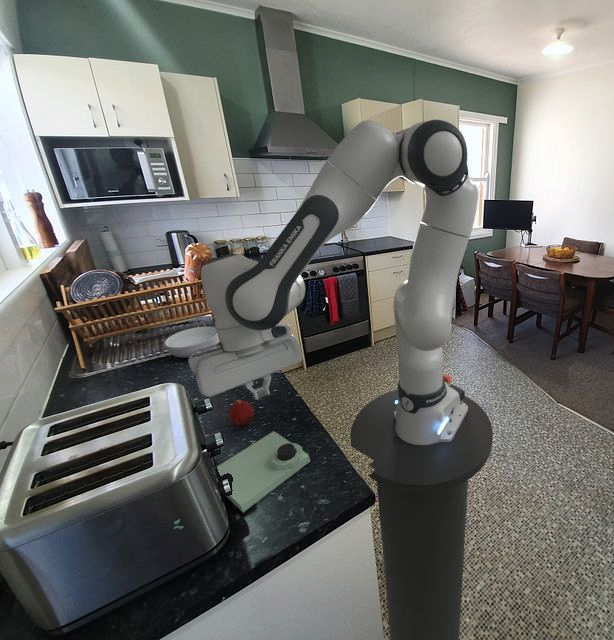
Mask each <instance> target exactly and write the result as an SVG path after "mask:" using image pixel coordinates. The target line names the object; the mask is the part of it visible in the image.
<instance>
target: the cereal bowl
mask: <svg viewBox="0 0 614 640" xmlns="http://www.w3.org/2000/svg"><path fill="white" fill-rule="evenodd" d="M219 343H220V341H219V338H218V335H217V332H216V328H215V326H198V327H197V326H196V327H192V328H187V329H184V330H181V331H178V332H175V333H174V334H172V335H170V336H168V337H167V338H166V340H165V341H164V345H165V348H166V350H167V351H168V353H169V354H170V355H172V356H174V357H177V358H181V359H186V358H188V359H189V357H190V356H191V355H192V354H193V353H195V351H196V350H199V349H204V348H207V347H210V346H212V345H216V344H219ZM195 356H196V355H194V356H193V357H195Z"/></svg>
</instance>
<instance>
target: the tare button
mask: <svg viewBox="0 0 614 640" xmlns="http://www.w3.org/2000/svg"><path fill="white" fill-rule="evenodd" d="M290 443H291V442H290ZM290 443H287V444H284V445H282V446H280V447H279V448H278V450H277V453H278V458H279V460H281V461H286V460H290V459H291V458H293V457H294V456H295V448H294V445H293V444H290Z"/></svg>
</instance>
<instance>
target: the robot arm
mask: <svg viewBox="0 0 614 640" xmlns="http://www.w3.org/2000/svg"><path fill="white" fill-rule="evenodd" d="M398 178H399V179H401V180H403V181H404V182H408V183H411V184H413V185H416V186H420V187H422V189H423V192H424V194H425V195H424V196H425V201H424V206H425V207H424V208H423V210H422V211H423V212H422V214H421V218H420V221H419V224H418V225H419V226H418V230H417V232H416V236H415V240H414V244H413V246H412V251H411V253H410V257H409V258H410V259H409V268H408V269H409V270H408V277H407V280H405V281H403V282H402V283H401V284H399V286H398V287H397V289H396V290H395V293H394V297H393V313H394V314H393V315H394V326H395V338H396V348H397V358H398V381H397V389H398V394H397V400H396V401H395V403H397V406H396V411H394V418H395V420H396V424H395V430H396V433H397V435H398V436H399V437H400V438H401V439H402V440H403V441H405V442H407V443H410V444H414V445H430V444H434V443H438V442H451V441H452V439H453V438H454V436H455V434H456V432H457V430H458V428H459V426H460V424H461V423H462V421H463V419H464V417H465V415H466V413H467V411H468V406H467V405H466V404H465V403H464V402H463V401H461V400H463V399H464V398H465V396H466V391H465V390H464V389H462V388H460V387H458V386H456V385H454V384H453V383H452V381H453V377H452V376H451V375H447V374H444V352H443V346H444V345H445V344H446V343H447V342H448V341H449V339H450V338H451V335H452V331H453V330H452V329H453V327H452V325H453V323H452V320H453V319H452V318H453V317H452V316H453V309H454V304H455V297H456V292H457V291H456V289H457V283H458V278H459V273H460V269H461V265H462V263H463V259H464V256H465V254H466V253H465V252H466V250H467V248H468V243H469V241H470V237H471V234H472V231H473V227H474V224H475V219H476V216H477V215H476V214H477V211H478V210H477V209H478V203H479V195H480V194H479V193H480V192H479V188H478V186H477V185H476V183H475V182H474V181H473V180H472V179H471V178H469V168H468V147H467V142H466V140H465V137H464V135H463V133H462V132H461V130H459V129H458V127H457V126H455V125H454V124H452V123H450V122H448V121H446V120H442V119H430V120H425V121H421V122H417V123H414V124H413V125H410V127H407V128H404V129H402V130H400V131H398V132H395V133H394V132H392V131H391V130H390V129H389V128H387V126H386V125H383V124H382V123H380V122H378V121H375V120H371V119H370V120H369V119H365V120H362V121H360V122H359V123H357V125H355V126H354V127H353V128H352V129H351V130H350V131H349V132H348V133H347V135H346V136H345V137H343V138H342V140H341V141H340V142H339V143H338V144H337V146H336V147H335V148H334V150H333V151H332V152H331V153H330V155H329V156H328V158H327V160H326V161H325V162H324V164H323V166H321V169H320V170H319V171H318V173H317V176H316V177H315V179H314V180H313V183H312V184H311V186H310V188H309V190H308V192H307V193H306V195H305V196H304V198H303V200H302V201H301V203H300V205H299V207H298V208H297V210H296V212H295V213H294V215H293V216H292V217H291V219H290V220H289V221H288V223H287V224H286V226H285V227H284V228H283V230H282V231H281V232H280V233H279V235H278V236H277V238H276V239H275V240H274V242H272V244H271V245H270V247H269V248H268V250H267V251H266V252H265V254H264V255H263V257H261V259H260V260H259V261H257V260H253V259H250V258H248V257H246V256H245V255H243V254H240V253H231V254H226V255H224V256H219V257H217V258H214V259H211V260H209V261H207V262H206V263H205V264H203V265H202V267H201V270H200V279H201V284H202V289H203V294H204V296H205V300H206V304H207V307H208V308H209V310H210V311H211V313H212V315H213V317H214V328H216V332H217V335H218V338H219V343H218V344H216V345H212V346H210V347H207V348H204V349H199V350H196V351H195V353H193V354H192V355H191V356H190V357H189V358H188V359H187V363H188V367H189V369H190V371H191V373H193V374H195V379H196V383H197V387H198V390H199V392H200V394H201V395H202V396H204V397H206V398H211V397H214V396H216V395H219V394H221V393H223V392H224V393H225V392H227V391H229V390H233V389H234V388H238V387H241V386H242V385H243V387H245V388H246V389H247V390H249V391H250V392H251V393H252V397H253V399H254V400H255V401H258V400H260V399H263V398H265V397H267V396H270V395H271V392H270V386H271V381H272V376H271V375H272V374H274V373H276V372H279V371H282V370H285V369H287V368H291V367H293V366H295V365H298V364H300V363H302V361H303V359H304V354H303V351H302V348H301V345H300V343H299V341H298V338H297V337H296V336H295V335H293V334H292V332H293V331H292V327H291V325H290V324H288V323H286V322H282V320H283V319H284V318H285V317H286V316H287V315H289V314H290V313H291V312H293V311H294V310H295V309H296V308H297V307H298V306H299V305H301V303H302V302H303V301H304V299H305V296H306V291H307V288H306V284H305V283H306V282H305V281H304V279H303V276H302V273H304V270H305V269H306V268H307V267H308V266H309V263H310V262H311V261H312V259H313V258H314V257H315V256H316V254H317V253H318V252H319V251H320V249H321V248H322V247H323V246H324V245H325V244H327V243H328V242H329V241H330V240H332V239H333V238H334V237H336V236H338V235H340V234H342V233H344V232H346V231H349V229H351V228H353V227H355V225H357V224H358V223H359V222H360V221H361V220H362V219H363V218H364V217H365V216H366V215H367V214H368V212H370V210H372V208H373V206H374V205H375V203H376V202H377V200H378V199H379V198H380V196H382V193H384V190H385V189H386V187H388V186H389V185H390V183H392V182H393V181H395V180H396V179H398ZM194 355H196V356H195V357H193V356H194ZM258 379H262V380H263V382H262V386H261V387H259V388H256V389H255V388H253V387H254V385H255V384H254V381H256V380H258ZM446 384H448V385H446ZM252 386H253V387H252Z"/></svg>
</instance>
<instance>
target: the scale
mask: <svg viewBox="0 0 614 640" xmlns="http://www.w3.org/2000/svg"><path fill="white" fill-rule="evenodd" d="M287 443H290V444H293V445H294V448H295V456H294V457H293V458H291V459H290V460H286V461H281V460H279V458H278V453H277V450H278V448H279V447H280V446H282V445H284V444H287ZM309 463H311V458H310V455H309V454H308V453H307V452H305V451H304V450H303V447H302V446H301V445H299V444H298V443H293V442H290V441H289V440H288V439H286V438H285V437H283V436H282V435H280V434H279V433H277V432H276V431H275V430H273V431H271V432H270V433H268V434H267V435H265V436H264V437H262V438H260V439H259V440H257V441H256V442H254V443H253V444H251V445H249V446H247V447H246V448H244V449H243V450H241V451H240V452H238V453H237V454H234V456H232V457H230V458H229V459H227V460H225V461H224V462H223V463H220V464H218V465H217V466H216V467H217V469H218V472H219V474H220V476H222V475H224V474H227V473H229V474H231V475H232V477H233V482H232V490H233V491H232V495H230V496H226V498H228V500H230V501H231V502H232V503H233V505H234V506H236V507H237V509H238V510H240V511H241V512H242V513H245V512H246V511H247V510H249V509H250V508H252V507H253V506H254V505H255V504H256V503H258V502H259V501H260V500H263V498H264V497H266V496H267V495H268V494H269V493H271V492H272V491H274V490H275V489H276V488H277V487H279V486H280V485H281V484H282V483H284V482H286V481H287V480H288V479H289V478H290V477H292V476H293V475H294V474H296V473H297V472H298V471H300V470H301V469H303V467H305V466H306V465H307V464H309Z"/></svg>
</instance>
